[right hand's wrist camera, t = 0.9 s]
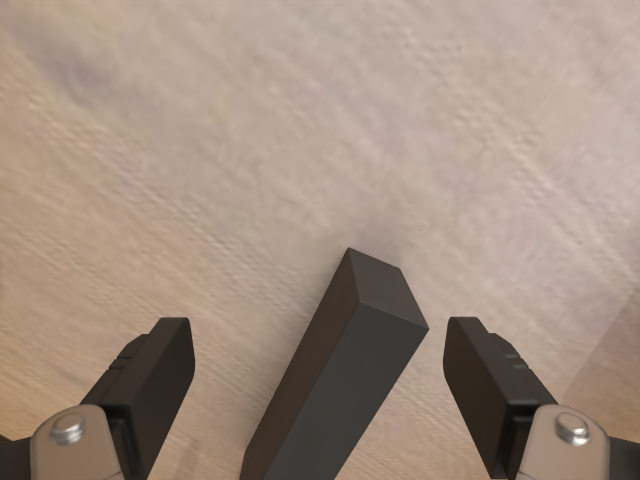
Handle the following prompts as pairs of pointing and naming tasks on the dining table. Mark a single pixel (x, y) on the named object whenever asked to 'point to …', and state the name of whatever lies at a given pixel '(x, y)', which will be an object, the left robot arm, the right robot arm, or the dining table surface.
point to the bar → (338, 373)
